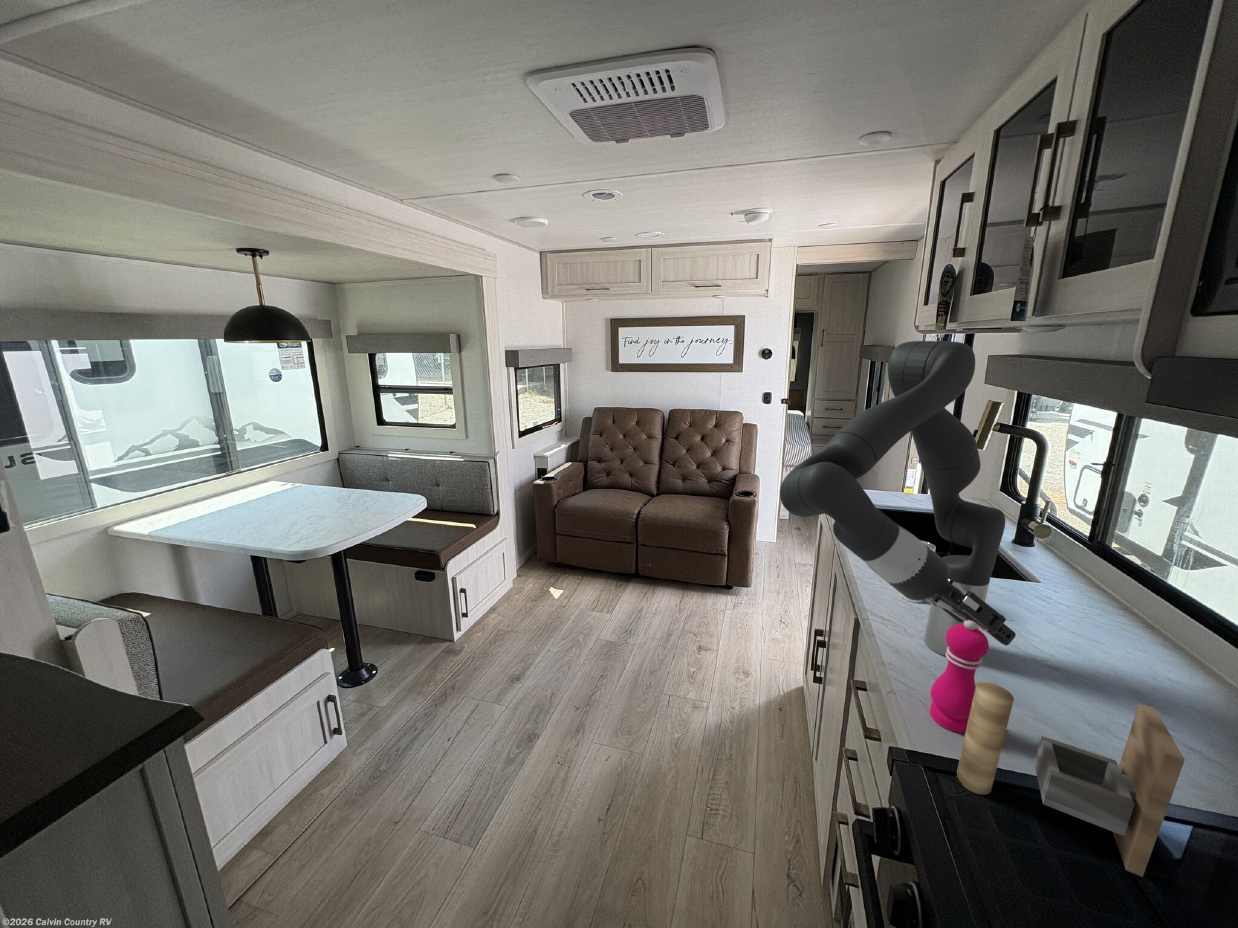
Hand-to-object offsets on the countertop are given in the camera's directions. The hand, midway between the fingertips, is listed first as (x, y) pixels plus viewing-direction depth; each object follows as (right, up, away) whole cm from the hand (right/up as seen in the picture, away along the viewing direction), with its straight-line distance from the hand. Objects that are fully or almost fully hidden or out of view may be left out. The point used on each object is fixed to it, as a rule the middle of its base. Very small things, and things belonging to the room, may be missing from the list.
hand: (985, 627), depth 71 cm
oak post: (+1, -25, +3) cm, 25 cm away
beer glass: (+24, -12, +58) cm, 64 cm away
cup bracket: (+11, -26, -3) cm, 29 cm away
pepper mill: (+6, -22, +16) cm, 28 cm away
